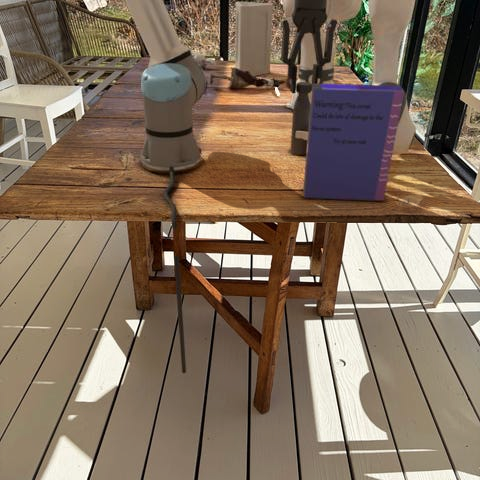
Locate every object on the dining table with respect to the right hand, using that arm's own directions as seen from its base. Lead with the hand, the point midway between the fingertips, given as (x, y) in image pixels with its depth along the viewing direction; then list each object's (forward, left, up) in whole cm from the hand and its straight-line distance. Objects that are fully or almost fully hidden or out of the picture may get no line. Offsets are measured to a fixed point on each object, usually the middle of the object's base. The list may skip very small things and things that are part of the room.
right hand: (297, 130), depth 128 cm
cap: (0, +1, +12) cm, 12 cm away
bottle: (0, +1, -6) cm, 6 cm away
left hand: (0, +1, +10) cm, 10 cm away
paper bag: (-96, -31, -6) cm, 101 cm away
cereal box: (+25, +14, -6) cm, 29 cm away
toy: (-99, -64, -6) cm, 118 cm away
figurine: (-67, -28, -6) cm, 73 cm away
